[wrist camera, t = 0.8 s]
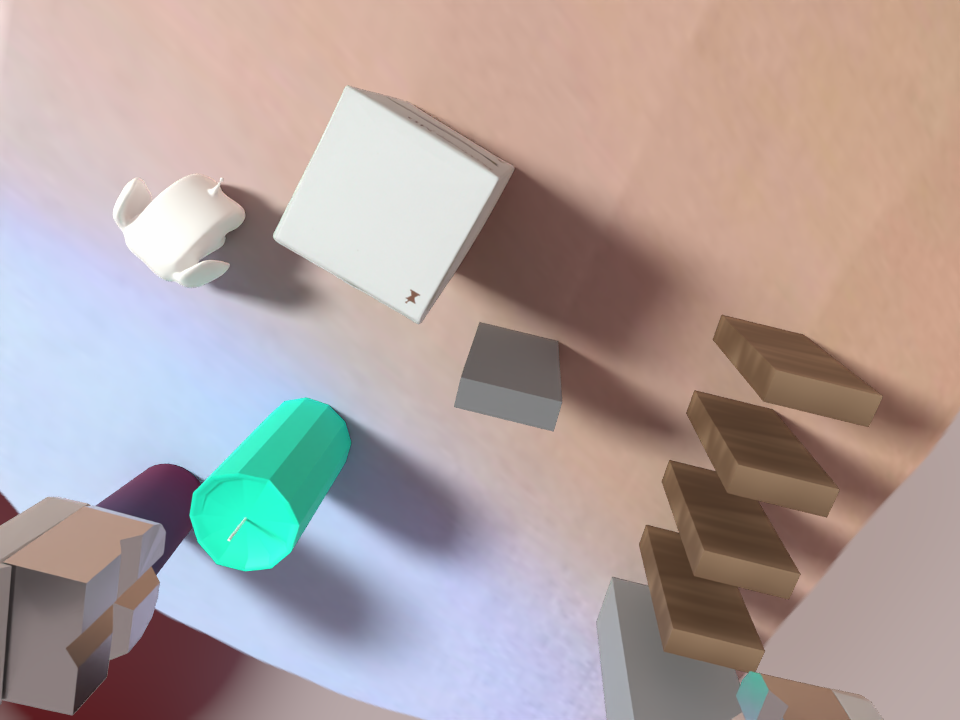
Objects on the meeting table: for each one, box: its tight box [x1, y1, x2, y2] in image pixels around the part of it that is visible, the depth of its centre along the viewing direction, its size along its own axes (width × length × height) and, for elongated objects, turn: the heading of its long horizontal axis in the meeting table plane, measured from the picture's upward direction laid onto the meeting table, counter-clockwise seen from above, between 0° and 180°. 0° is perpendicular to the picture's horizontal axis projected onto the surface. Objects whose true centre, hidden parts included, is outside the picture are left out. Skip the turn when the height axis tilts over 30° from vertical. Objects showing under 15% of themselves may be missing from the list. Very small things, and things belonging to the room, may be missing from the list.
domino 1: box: [713, 315, 883, 427], centre depth 36 cm, size 2×5×10 cm, turn 77°
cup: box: [96, 464, 201, 575], centre depth 41 cm, size 7×7×15 cm
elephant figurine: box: [113, 174, 245, 288], centre depth 38 cm, size 7×8×6 cm
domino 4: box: [639, 525, 765, 673], centre depth 41 cm, size 2×5×10 cm, turn 77°
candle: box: [189, 398, 351, 571], centre depth 40 cm, size 6×6×12 cm
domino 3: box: [662, 460, 801, 599], centre depth 39 cm, size 2×5×10 cm, turn 77°
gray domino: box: [454, 322, 562, 431], centre depth 37 cm, size 2×5×10 cm, turn 77°
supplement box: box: [273, 86, 515, 324], centre depth 33 cm, size 7×7×13 cm
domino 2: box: [686, 390, 840, 517], centre depth 37 cm, size 2×5×10 cm, turn 77°
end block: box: [596, 577, 742, 720], centre depth 42 cm, size 4×7×12 cm, turn 77°
